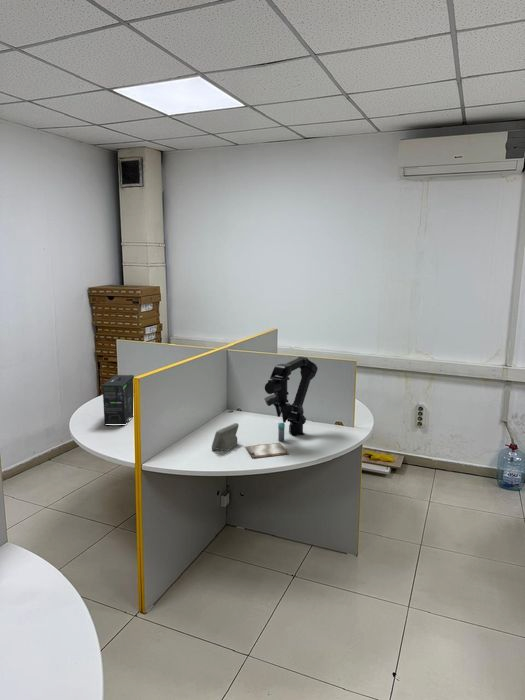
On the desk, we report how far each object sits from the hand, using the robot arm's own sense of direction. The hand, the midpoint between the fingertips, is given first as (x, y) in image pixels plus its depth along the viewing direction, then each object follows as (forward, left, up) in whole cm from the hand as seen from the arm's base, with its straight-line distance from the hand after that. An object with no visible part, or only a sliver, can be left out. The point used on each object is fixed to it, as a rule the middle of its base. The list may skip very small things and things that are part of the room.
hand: (281, 419), depth 244 cm
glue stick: (0, 0, -11) cm, 11 cm away
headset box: (+79, -56, -12) cm, 98 cm away
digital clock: (+29, 0, -12) cm, 31 cm away
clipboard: (+11, +11, -11) cm, 19 cm away
